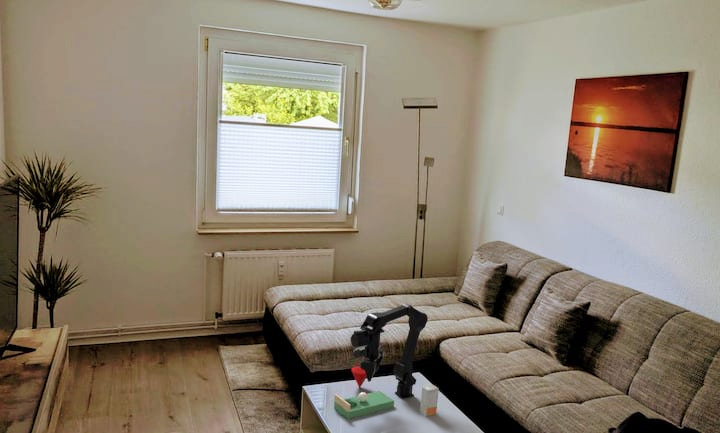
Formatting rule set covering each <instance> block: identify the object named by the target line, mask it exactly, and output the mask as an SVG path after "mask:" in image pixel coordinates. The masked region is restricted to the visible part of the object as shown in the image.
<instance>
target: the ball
mask: <svg viewBox="0 0 720 433" xmlns="http://www.w3.org/2000/svg"><path fill="white" fill-rule="evenodd" d="M367 394H368V393H366V392H363V391H361V392H360V393H359V394H358V395H357V396H358V398H359V400H360V401H361V402H365V401H366V400H367V398H368V396H367Z"/></svg>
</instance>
